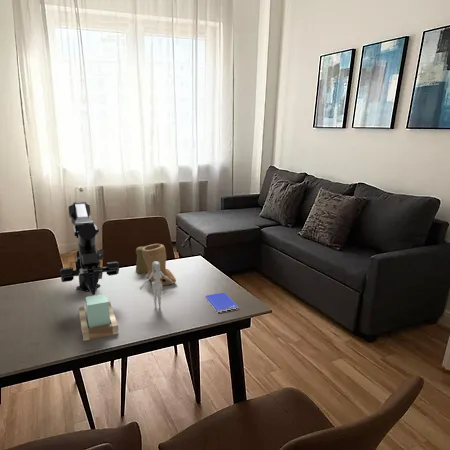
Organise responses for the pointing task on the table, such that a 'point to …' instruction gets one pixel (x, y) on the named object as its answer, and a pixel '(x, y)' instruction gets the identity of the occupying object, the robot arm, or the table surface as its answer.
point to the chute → (99, 330)
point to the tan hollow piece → (158, 254)
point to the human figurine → (156, 283)
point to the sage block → (97, 310)
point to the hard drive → (221, 302)
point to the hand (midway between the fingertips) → (93, 294)
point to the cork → (141, 262)
